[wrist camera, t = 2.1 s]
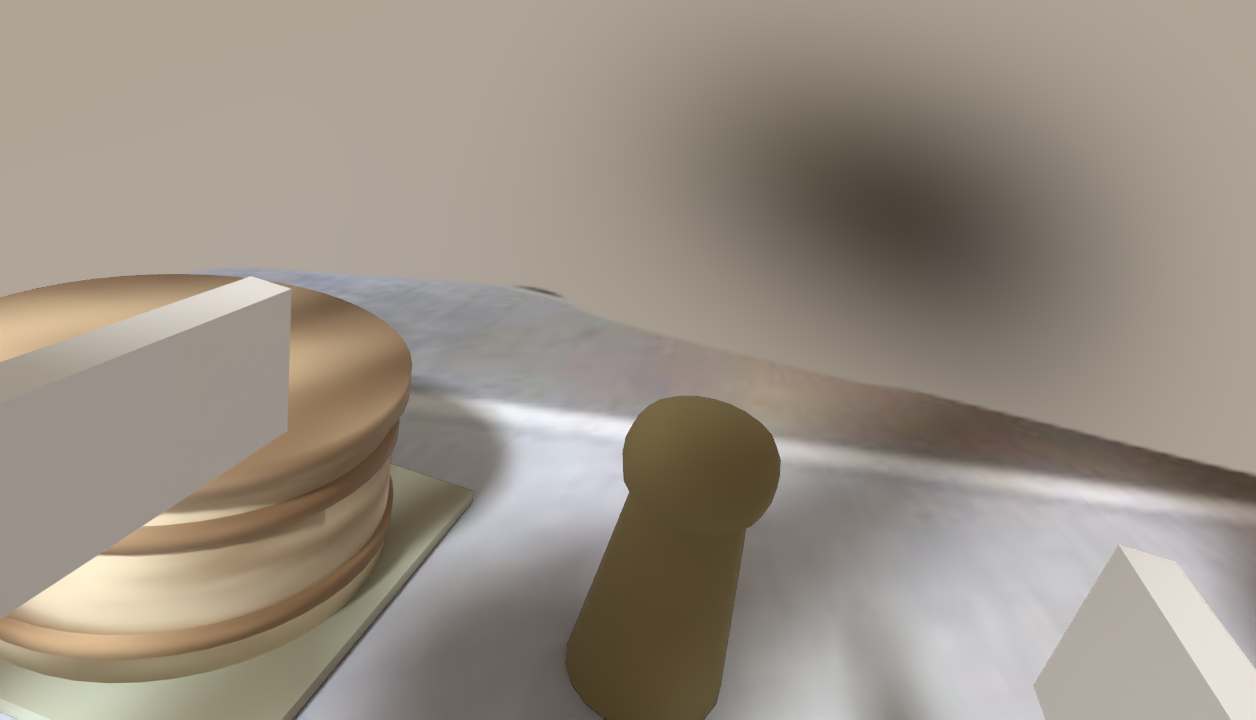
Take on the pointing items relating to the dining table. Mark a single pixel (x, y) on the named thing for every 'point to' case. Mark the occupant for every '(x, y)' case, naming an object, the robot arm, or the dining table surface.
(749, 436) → the cork
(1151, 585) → the robot arm
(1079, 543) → the dining table surface
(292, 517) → the stack of pancakes
